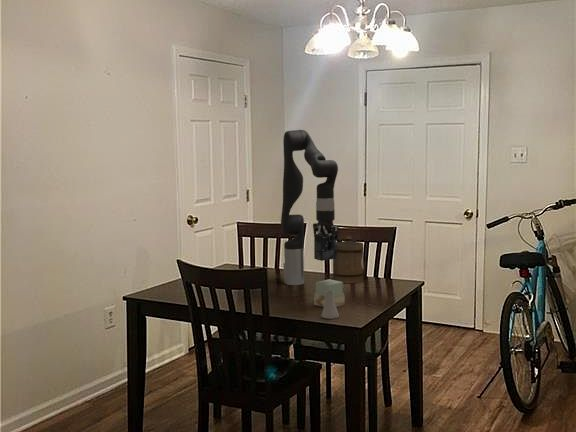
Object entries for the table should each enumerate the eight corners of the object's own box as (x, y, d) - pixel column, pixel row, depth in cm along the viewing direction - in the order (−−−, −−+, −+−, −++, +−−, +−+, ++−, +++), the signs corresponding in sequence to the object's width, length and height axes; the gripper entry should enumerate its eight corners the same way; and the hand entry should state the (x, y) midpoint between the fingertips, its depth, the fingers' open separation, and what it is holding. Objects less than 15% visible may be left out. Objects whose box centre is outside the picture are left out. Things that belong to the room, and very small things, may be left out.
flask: (319, 314, 257) (319, 290, 256) (337, 314, 257) (337, 289, 256) (322, 319, 250) (321, 294, 248) (340, 319, 250) (340, 293, 249)
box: (321, 261, 265) (321, 235, 264) (314, 259, 270) (313, 233, 268) (337, 258, 269) (337, 233, 268) (329, 257, 274) (329, 232, 273)
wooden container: (369, 281, 315) (369, 236, 313) (345, 285, 308) (345, 239, 305) (350, 275, 328) (350, 232, 325) (327, 279, 320) (326, 235, 317)
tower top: (315, 293, 271) (315, 282, 271) (329, 290, 276) (329, 279, 276) (329, 297, 265) (328, 285, 265) (342, 293, 270) (342, 282, 270)
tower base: (314, 305, 273) (314, 293, 272) (330, 301, 278) (330, 290, 278) (328, 309, 266) (328, 297, 265) (344, 305, 271) (344, 293, 271)
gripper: (307, 208, 270) (307, 248, 272) (329, 211, 259) (330, 252, 261) (321, 206, 275) (321, 246, 277) (343, 209, 263) (344, 250, 265)
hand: (325, 249), depth 269 cm, fingers closed on box, 5 cm apart
